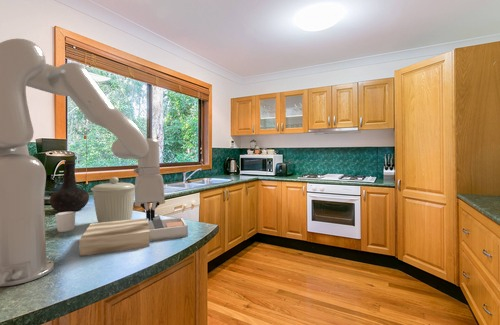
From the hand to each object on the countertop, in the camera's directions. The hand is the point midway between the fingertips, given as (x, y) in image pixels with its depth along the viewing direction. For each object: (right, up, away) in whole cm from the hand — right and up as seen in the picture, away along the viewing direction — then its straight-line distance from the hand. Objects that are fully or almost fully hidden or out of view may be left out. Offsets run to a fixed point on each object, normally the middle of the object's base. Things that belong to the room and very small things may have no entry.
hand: (150, 220), depth 95 cm
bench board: (-10, -7, -4) cm, 13 cm away
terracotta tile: (+8, -3, +4) cm, 9 cm away
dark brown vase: (-63, -5, +46) cm, 78 cm away
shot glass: (-39, -7, +10) cm, 41 cm away
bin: (+5, -6, +4) cm, 9 cm away
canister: (-24, -6, +19) cm, 31 cm away
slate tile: (+1, -3, +1) cm, 3 cm away
